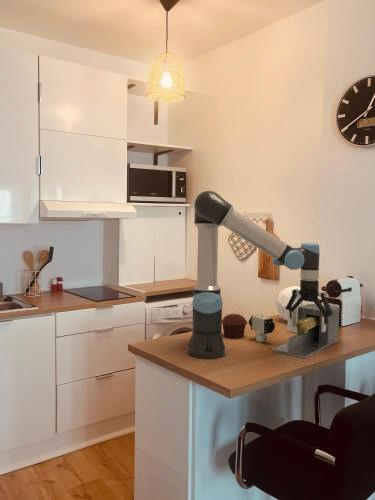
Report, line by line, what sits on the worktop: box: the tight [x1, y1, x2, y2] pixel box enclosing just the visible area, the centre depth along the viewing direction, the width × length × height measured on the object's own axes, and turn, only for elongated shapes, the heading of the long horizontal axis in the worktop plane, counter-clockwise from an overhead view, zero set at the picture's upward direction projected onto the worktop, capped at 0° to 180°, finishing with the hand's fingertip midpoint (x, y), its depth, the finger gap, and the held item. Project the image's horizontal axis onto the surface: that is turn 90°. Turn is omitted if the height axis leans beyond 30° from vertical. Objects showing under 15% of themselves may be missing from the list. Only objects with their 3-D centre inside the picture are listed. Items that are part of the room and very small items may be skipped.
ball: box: [275, 285, 315, 322], centre depth 232 cm, size 19×20×20 cm
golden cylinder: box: [296, 315, 320, 333], centre depth 190 cm, size 6×15×6 cm, turn 141°
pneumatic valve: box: [248, 313, 276, 344], centre depth 194 cm, size 6×12×12 cm, turn 35°
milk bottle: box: [286, 290, 304, 334], centre depth 213 cm, size 8×8×20 cm
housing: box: [272, 303, 340, 359], centre depth 188 cm, size 14×34×15 cm, turn 141°
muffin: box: [222, 313, 248, 340], centre depth 203 cm, size 12×11×10 cm
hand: (308, 329), depth 188 cm, fingers open, 13 cm apart
